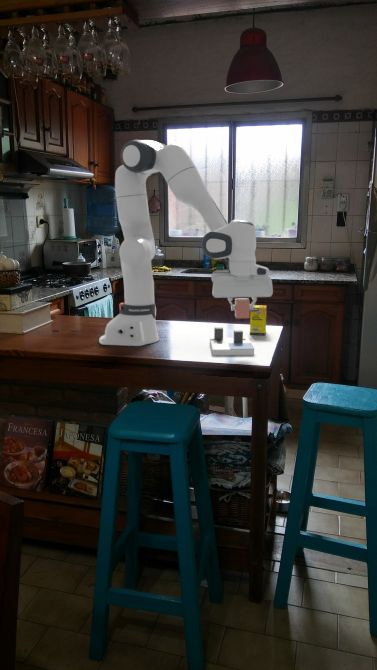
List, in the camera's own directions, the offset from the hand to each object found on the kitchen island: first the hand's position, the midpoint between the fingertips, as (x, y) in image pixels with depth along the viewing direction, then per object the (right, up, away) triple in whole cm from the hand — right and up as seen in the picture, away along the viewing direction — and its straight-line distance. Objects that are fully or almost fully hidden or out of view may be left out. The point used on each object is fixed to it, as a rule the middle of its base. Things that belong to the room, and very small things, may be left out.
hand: (242, 310), depth 183 cm
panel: (-3, -13, +8) cm, 16 cm away
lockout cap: (0, -2, 0) cm, 2 cm away
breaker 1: (-7, -10, +13) cm, 18 cm away
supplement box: (+9, -8, +31) cm, 34 cm away
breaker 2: (-1, -11, +8) cm, 14 cm away
